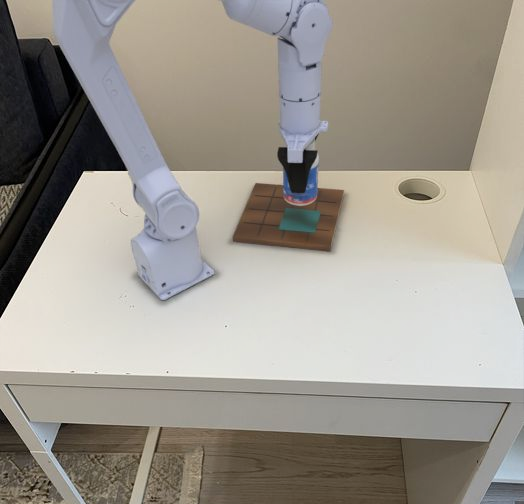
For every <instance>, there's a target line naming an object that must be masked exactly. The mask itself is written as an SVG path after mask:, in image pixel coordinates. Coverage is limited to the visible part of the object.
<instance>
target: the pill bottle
mask: <svg viewBox="0 0 524 504" xmlns="http://www.w3.org/2000/svg"><path fill="white" fill-rule="evenodd" d="M306 150H316V141H315V138H314V139H313V140H312V141H311V142H310V144H309V145H308V146H307V147H306ZM319 164H320V155H319V152H317V157H316V160H315V162H314V163H313V165H312V167H311V169H310V172H309V176H308V182H307V187H306V191H305V193H292V192H291V190H290V187H289V183H288V179H287V175H286V172H285V170H284V168H283V167H282V185H283V196H284V199H285V200H286V201H287V202H288V203H290V204H292V205H297V206H304V205H308V204H311V203H312V202H314V201H315V199H316V198H317V188H319V185H318V184H319V167H320V166H319Z"/></svg>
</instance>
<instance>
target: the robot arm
mask: <svg viewBox="0 0 524 504" xmlns="http://www.w3.org/2000/svg"><path fill="white" fill-rule="evenodd" d="M51 1H52V2H51V3H52V32H53V36H54V38H55V40H56V43H57V44H58V45H59V48H60V50H61V51H62V54H63V55H64V56H65V59H66V61H67V62H68V64H69V66H70V68H71V69H72V71H73V73H74V75H75V78H76V79H77V80H78V82H79V84H80V86H81V87H82V89H83V91H84V94H85V95H86V97H87V99H88V100H89V101H90V104H91V106H92V108H93V110H94V111H95V113H96V115H97V116H98V117H97V118H98V119H99V120H100V122H101V124H102V126H103V127H104V129H105V131H106V133H107V135H108V136H109V138H110V140H111V142H112V144H113V146H114V147H115V150H116V151H117V152H118V155H119V157H120V158H121V160H122V162H123V164H124V166H125V168H126V169H127V175H128V177H129V179H130V181H131V184H132V196H133V200H134V201H135V203H136V204H137V205H138V206H139V207H140V208H141V210H142V211H143V212H144V213H145V214H144V217H143V218H144V219H143V229H142V230H141V231H140V233H138V234H137V235H136V236H134V237H133V238H132V239H130V248H131V251H132V256H133V259H134V262H135V265H136V269H137V276H138V278H140V279H141V280H142V281H143V282H144V284H145V285H146V286H147V287H148V288H149V289H150V290H151V291H152V292H153V293H154V295H156V296H157V298H158V299H160V300H161V301H166V300H167V299H170V298H171V297H174V296H175V295H177V294H179V293H181V292H183V291H184V290H187V289H189V288H191V287H193V286H194V285H196V284H198V283H200V282H202V281H204V280H207V279H208V278H210V277H211V276H214V275H215V270H214V269H213V268H212V267H211V266H210V265H209V264H208V263H207V262H205V261H204V260H203V259H202V255H201V248H200V242H199V236H198V231H197V226H198V223H199V221H200V209H199V207H198V204H197V203H196V202H195V201H194V200H193V199H191V198H190V197H189V196H188V195H187V193H185V191H184V190H183V189H182V187H181V186H180V183H179V182H178V180H177V179H176V177H175V176H174V174H173V173H172V171H171V169H170V168H169V165H167V163H166V161H165V159H164V157H163V154H162V152H161V150H160V148H159V146H158V143H157V142H156V140H155V137H154V136H153V134H152V131H151V129H150V127H149V125H148V123H147V121H146V119H145V117H144V115H143V113H142V111H141V108H140V106H139V104H138V102H137V99H136V98H135V95H134V94H133V91H132V90H131V87H130V85H129V83H128V81H127V79H126V77H125V75H124V72H123V71H122V69H121V67H120V64H119V63H118V60H117V58H116V56H115V54H114V52H113V50H112V47H111V45H110V41H111V39H112V36H113V34H114V31H115V29H116V25H117V24H118V22H119V21H120V20H121V19H122V18H123V17H124V15H125V14H126V13H127V11H128V10H129V9H130V8H131V7H132V5H133V4H134V3H135V1H136V0H51ZM218 1H220V2H221V3H222V6H223V9H224V12H225V14H226V15H227V17H228V18H229V19H230V20H232V21H234V22H237V23H240V24H243V25H245V26H247V27H250V28H252V29H255V30H257V31H260V32H262V33H264V34H267V35H269V36H273V37H277V40H276V41H277V67H278V69H277V72H278V98H279V99H278V102H279V104H278V105H279V106H278V107H279V122H278V132H279V134H280V137H281V138H282V140H283V143H284V145H285V146H278V148H277V152H276V153H277V154H276V155H277V160H278V161H279V163H280V165H281V166H282V169H283V168H284V170H285V172H286V175H287V179H288V183H289V187H290V190H291V192H292V193H305V191H306V187H307V182H308V176H309V172H310V169H311V167H312V165H313V163H314V162H315V160H316V157H317V153H319V150H316V149H314V150H306V147H307V146H308V145H309V144H310V142H311V141H312V140H313V139H314V138H315V142H316V141H317V139H318V137H319V134H320V133H326V132H328V131H329V121H327V120H321V100H322V97H321V96H322V65H323V63H322V62H323V57H324V55H325V45H326V42H327V40H328V38H329V37H330V35H331V32H332V29H333V25H334V18H331V17H330V10H329V7H328V6H326V5H327V4H326V3H327V2H326V1H325V0H218Z"/></svg>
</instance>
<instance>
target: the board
mask: <svg viewBox="0 0 524 504" xmlns="http://www.w3.org/2000/svg"><path fill="white" fill-rule="evenodd" d="M344 195H345V190H344V189H336V188H324V187H318V188H317V198H316V199H315V201H314V202H312V203H311V204H308V205H304V206H297V205H292V204H290V203H288V202H287V201H286V200H285V199H284V196H283V184H273V183H264V182H263V183H262V182H255V183H254V186H253V188H252V191H251V193H250V195H249V197H248V199H247V201H246V205H245V207H244V209H243V212H242V214H241V216H240V219H239V221H238V223H237V226H236V228H235V230H234V233H233V235H232V242H233V243H235V242H236V243H243V244H244V243H245V244H253V245H254V244H256V245H264V246H275V247H283V248H284V247H285V248H293V249H303V250H313V251H323V252H331V251H332V247H333V243H334V238H335V234H336V230H337V225H338V221H339V217H340V213H341V208H342V204H343V200H344V197H345V196H344Z"/></svg>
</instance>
